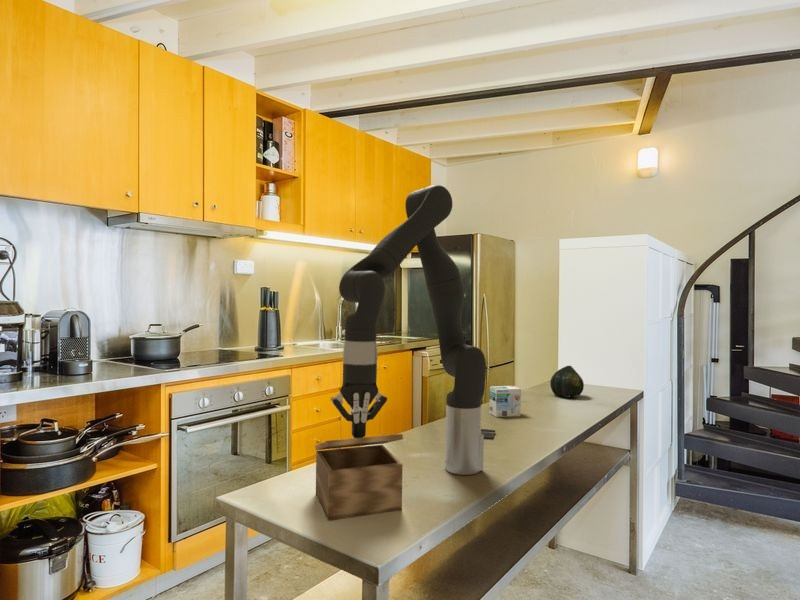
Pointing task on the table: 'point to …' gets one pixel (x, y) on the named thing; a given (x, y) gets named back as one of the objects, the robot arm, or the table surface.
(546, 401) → the table surface
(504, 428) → the table surface
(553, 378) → the squash
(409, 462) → the table surface
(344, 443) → the lid
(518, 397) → the light bulb box
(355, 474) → the brown wooden box
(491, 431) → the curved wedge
